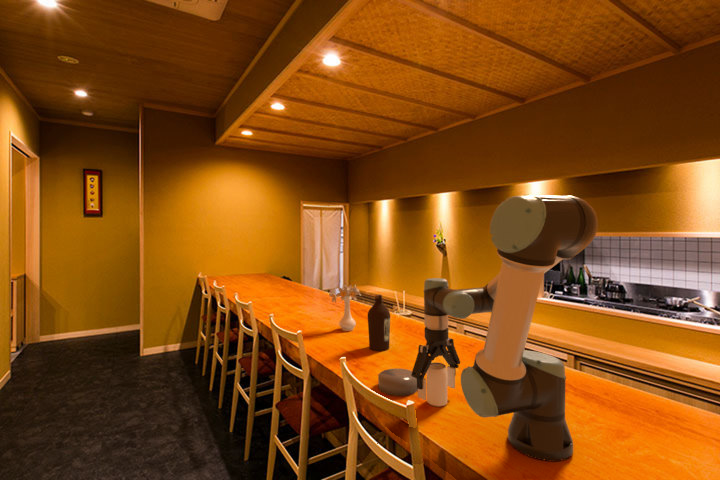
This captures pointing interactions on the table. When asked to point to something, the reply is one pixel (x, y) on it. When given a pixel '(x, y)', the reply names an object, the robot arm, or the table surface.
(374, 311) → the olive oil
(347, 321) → the flower vase
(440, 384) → the can
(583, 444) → the table surface
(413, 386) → the stand
